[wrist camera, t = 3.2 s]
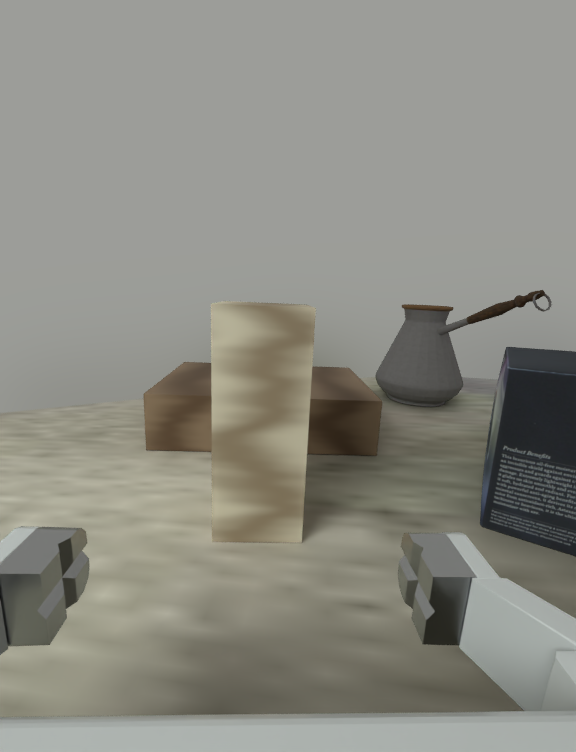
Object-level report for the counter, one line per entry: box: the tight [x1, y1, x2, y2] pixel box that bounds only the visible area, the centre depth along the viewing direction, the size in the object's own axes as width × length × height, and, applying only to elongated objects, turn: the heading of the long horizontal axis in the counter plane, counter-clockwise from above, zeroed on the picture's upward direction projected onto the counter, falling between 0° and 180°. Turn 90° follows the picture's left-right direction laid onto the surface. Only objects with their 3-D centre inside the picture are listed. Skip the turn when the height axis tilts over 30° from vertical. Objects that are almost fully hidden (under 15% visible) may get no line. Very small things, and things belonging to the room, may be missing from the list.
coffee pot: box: [376, 290, 551, 407], centre depth 45 cm, size 21×12×15 cm, turn 21°
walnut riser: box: [144, 362, 382, 455], centre depth 38 cm, size 20×14×5 cm
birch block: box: [211, 301, 316, 543], centre depth 21 cm, size 5×5×13 cm
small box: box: [480, 347, 576, 556], centre depth 24 cm, size 11×6×10 cm, turn 150°
